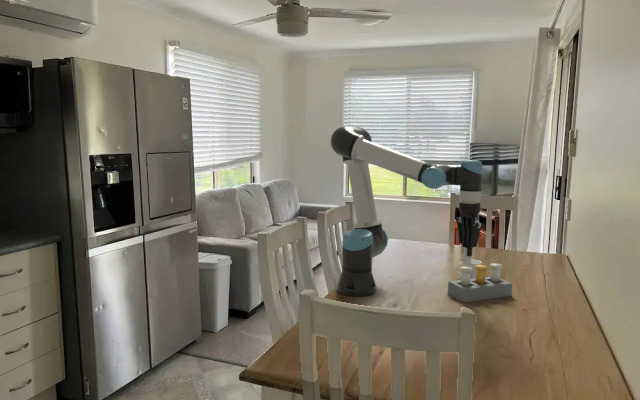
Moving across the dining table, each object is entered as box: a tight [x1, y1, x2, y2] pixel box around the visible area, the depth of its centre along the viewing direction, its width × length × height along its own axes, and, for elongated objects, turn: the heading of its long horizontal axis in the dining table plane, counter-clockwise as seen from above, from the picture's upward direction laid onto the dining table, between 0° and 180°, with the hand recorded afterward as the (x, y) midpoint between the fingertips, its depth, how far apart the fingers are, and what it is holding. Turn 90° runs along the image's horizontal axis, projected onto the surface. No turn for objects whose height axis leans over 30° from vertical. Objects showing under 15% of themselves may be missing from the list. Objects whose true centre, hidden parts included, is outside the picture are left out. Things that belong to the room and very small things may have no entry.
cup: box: [456, 258, 483, 279], centre depth 199 cm, size 7×10×8 cm
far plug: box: [489, 263, 503, 283], centre depth 181 cm, size 4×4×7 cm
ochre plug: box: [475, 264, 488, 284], centre depth 179 cm, size 4×4×7 cm
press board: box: [447, 275, 513, 303], centre depth 179 cm, size 22×10×5 cm, turn 110°
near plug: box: [459, 265, 472, 286], centre depth 176 cm, size 4×4×7 cm
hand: (466, 263), depth 176 cm, fingers closed
